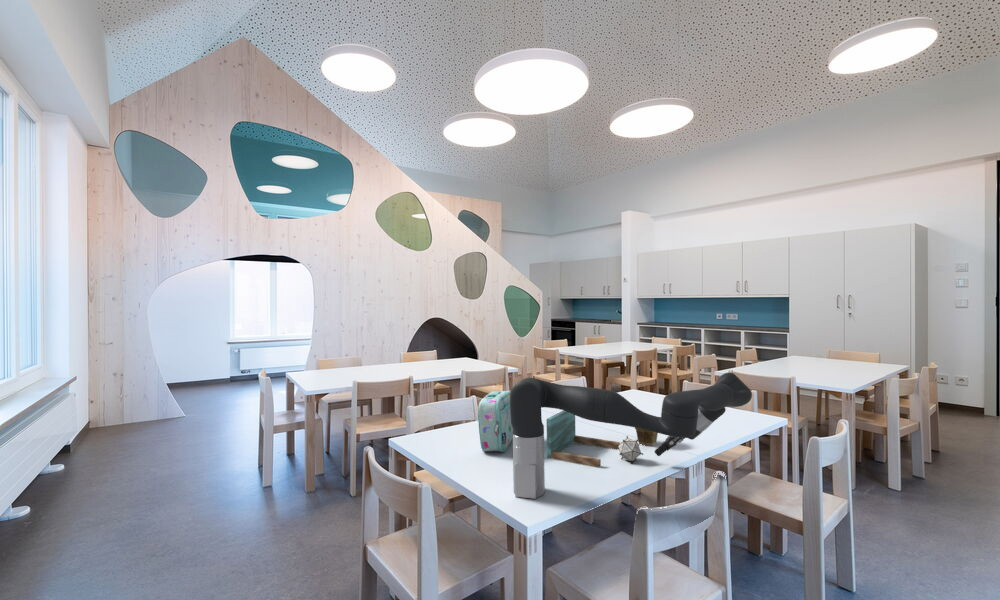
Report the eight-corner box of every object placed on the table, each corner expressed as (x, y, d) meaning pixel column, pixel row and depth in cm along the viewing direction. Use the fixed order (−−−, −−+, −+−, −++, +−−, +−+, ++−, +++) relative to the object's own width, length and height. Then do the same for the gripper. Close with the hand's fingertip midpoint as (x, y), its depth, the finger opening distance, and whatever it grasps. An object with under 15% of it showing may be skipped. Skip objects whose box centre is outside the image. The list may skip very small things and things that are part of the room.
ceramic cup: (665, 444, 177) (665, 418, 177) (650, 449, 171) (649, 422, 171) (637, 436, 187) (637, 412, 187) (622, 441, 181) (621, 416, 181)
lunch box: (504, 457, 164) (503, 398, 164) (477, 456, 166) (476, 397, 166) (516, 436, 190) (515, 385, 190) (492, 435, 192) (492, 384, 192)
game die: (626, 469, 160) (621, 442, 167) (649, 464, 156) (643, 436, 163) (615, 463, 155) (610, 434, 161) (638, 457, 151) (633, 429, 157)
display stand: (619, 448, 172) (619, 411, 172) (599, 467, 153) (598, 426, 153) (572, 441, 182) (571, 406, 183) (547, 457, 163) (546, 418, 163)
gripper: (700, 436, 140) (660, 468, 147) (706, 426, 152) (669, 456, 158) (682, 417, 143) (643, 449, 150) (689, 408, 155) (653, 439, 161)
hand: (656, 453), depth 154 cm, fingers closed
